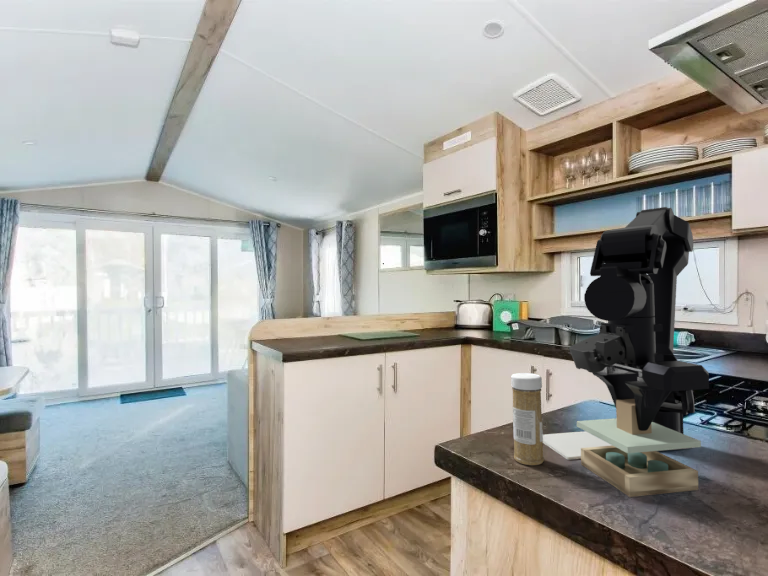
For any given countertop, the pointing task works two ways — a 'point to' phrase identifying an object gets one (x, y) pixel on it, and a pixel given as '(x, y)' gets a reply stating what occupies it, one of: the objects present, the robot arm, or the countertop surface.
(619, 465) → the box
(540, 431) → the sprinkles bottle
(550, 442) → the mat
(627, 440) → the lid
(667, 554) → the countertop surface
